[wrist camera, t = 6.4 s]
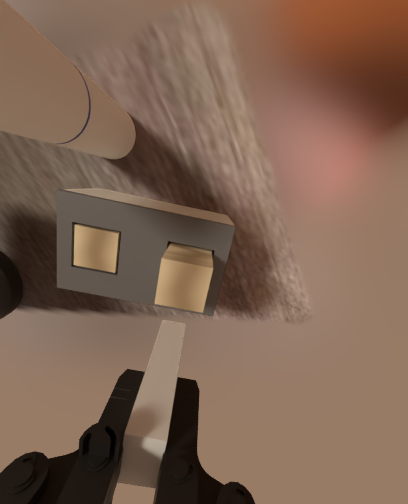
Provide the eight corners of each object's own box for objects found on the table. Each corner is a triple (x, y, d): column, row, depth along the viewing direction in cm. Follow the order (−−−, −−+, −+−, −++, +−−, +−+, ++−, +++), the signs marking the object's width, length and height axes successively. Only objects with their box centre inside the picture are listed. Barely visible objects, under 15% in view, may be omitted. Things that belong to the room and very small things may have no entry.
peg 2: (167, 272, 29) (154, 303, 22) (173, 237, 28) (161, 258, 20) (203, 279, 30) (202, 312, 22) (211, 245, 28) (213, 268, 20)
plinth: (96, 260, 36) (56, 287, 27) (100, 188, 33) (56, 189, 23) (211, 282, 37) (212, 316, 28) (227, 215, 34) (235, 227, 24)
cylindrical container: (132, 164, 32) (-91, 106, 8) (83, 152, 31) (-309, 51, 7) (139, 110, 30) (-138, -194, 6) (87, 96, 29) (-446, -295, 5)
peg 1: (103, 246, 33) (73, 264, 26) (105, 215, 32) (74, 224, 24) (135, 252, 34) (115, 272, 26) (139, 221, 32) (118, 233, 25)
